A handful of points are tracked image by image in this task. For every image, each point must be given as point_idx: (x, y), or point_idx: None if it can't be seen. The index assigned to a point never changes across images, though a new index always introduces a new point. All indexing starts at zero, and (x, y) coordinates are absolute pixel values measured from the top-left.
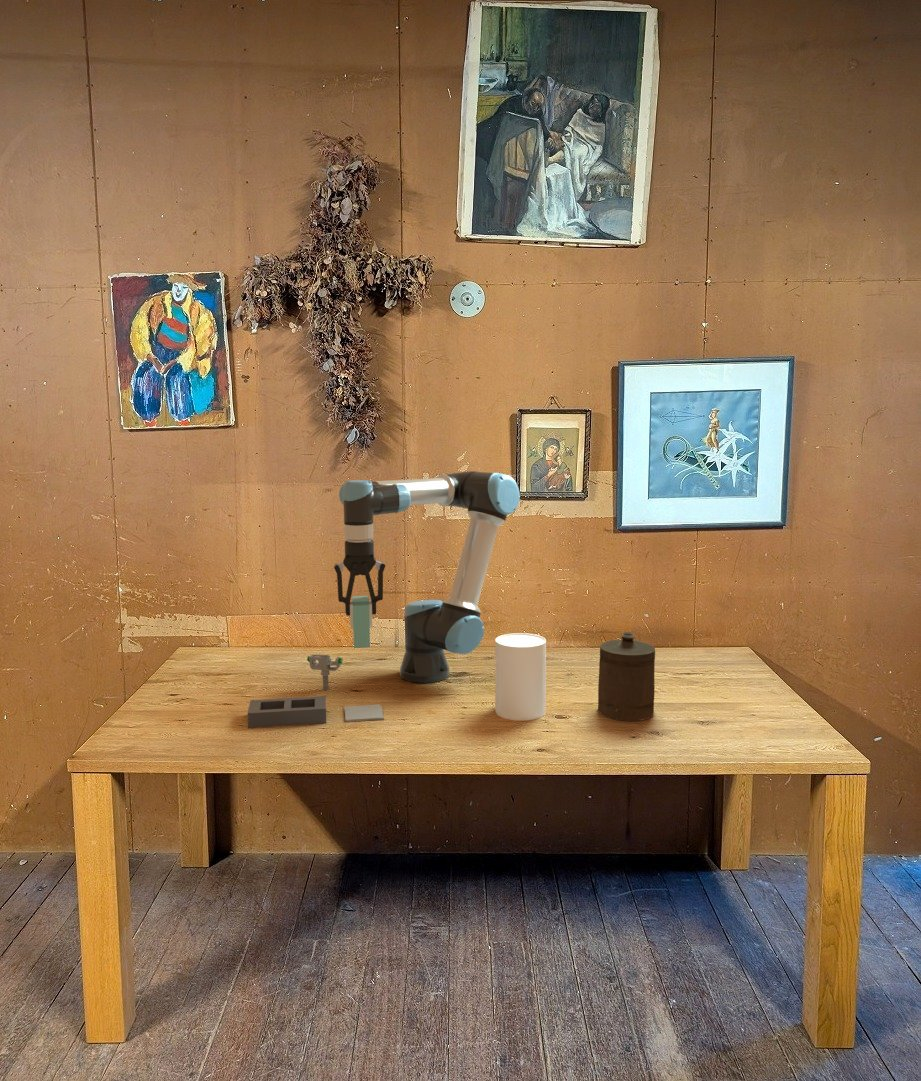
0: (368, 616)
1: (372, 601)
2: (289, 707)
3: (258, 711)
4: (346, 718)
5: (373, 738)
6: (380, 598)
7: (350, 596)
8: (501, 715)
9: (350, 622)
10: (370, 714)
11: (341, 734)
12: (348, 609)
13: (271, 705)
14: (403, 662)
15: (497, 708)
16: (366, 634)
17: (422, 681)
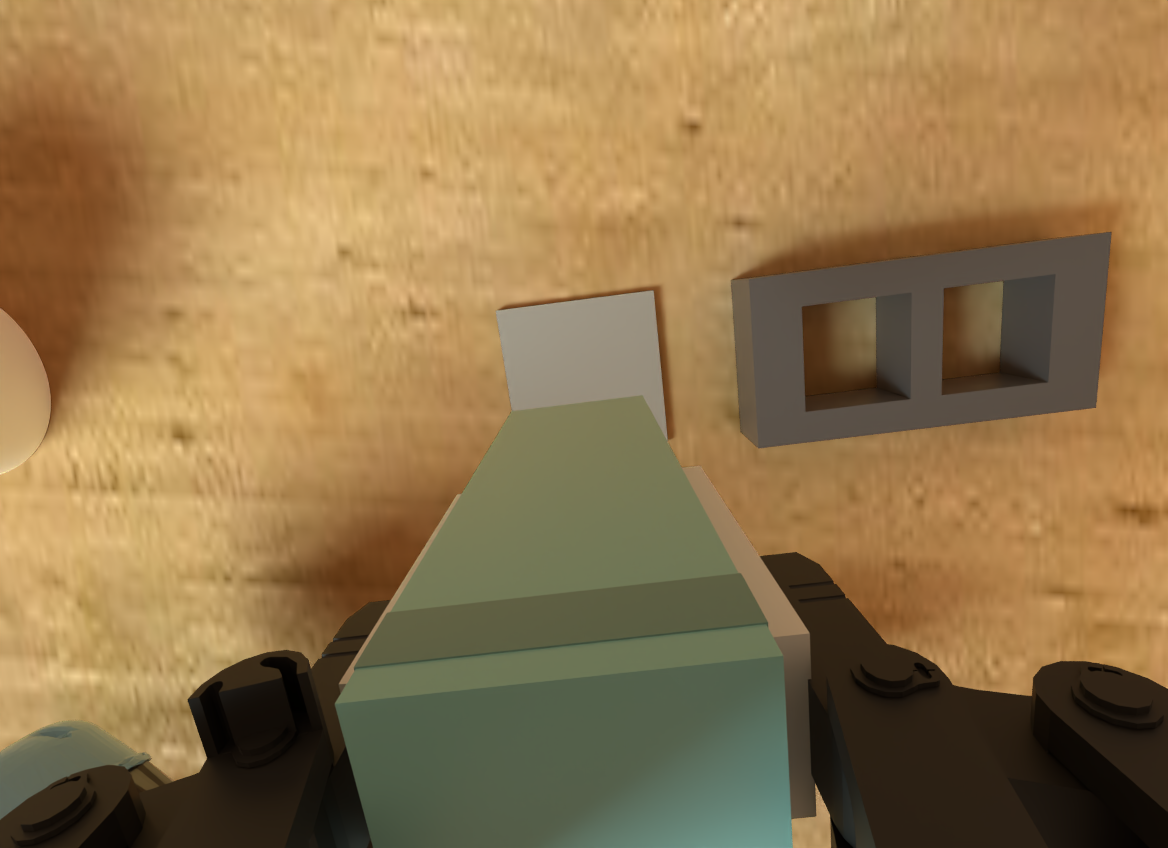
0: (462, 509)
1: (303, 728)
2: (917, 301)
3: (1060, 255)
4: (650, 306)
5: (520, 92)
6: (62, 798)
7: (884, 805)
8: (6, 320)
9: (715, 491)
10: (553, 348)
11: (659, 146)
12: (798, 609)
13: (988, 384)
14: None
15: (7, 350)
16: (527, 437)
17: None
